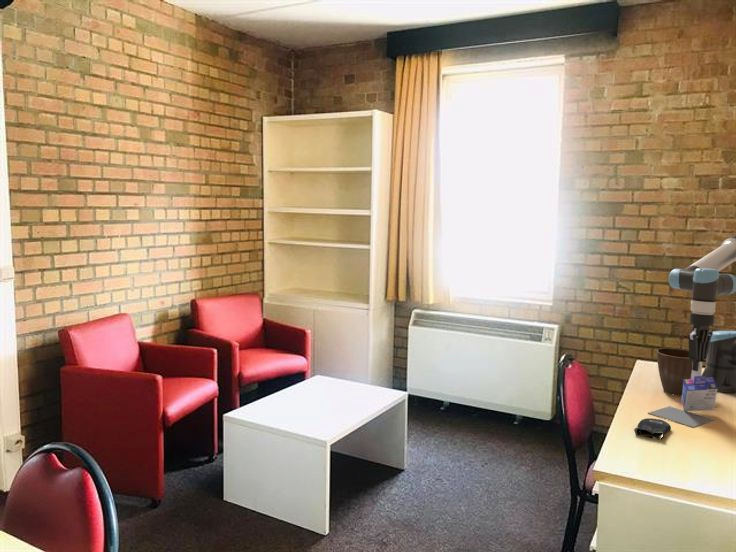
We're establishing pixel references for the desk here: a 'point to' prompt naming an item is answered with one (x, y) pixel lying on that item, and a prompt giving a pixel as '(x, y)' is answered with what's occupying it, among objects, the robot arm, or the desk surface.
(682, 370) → the plant pot
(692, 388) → the ink cartridge box
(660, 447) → the desk surface
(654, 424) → the electronic device
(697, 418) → the mat
